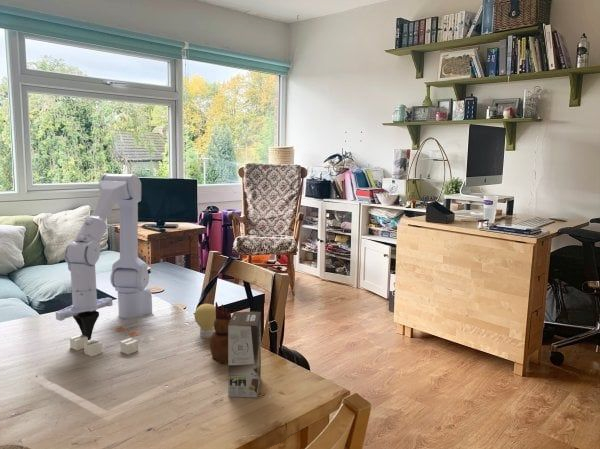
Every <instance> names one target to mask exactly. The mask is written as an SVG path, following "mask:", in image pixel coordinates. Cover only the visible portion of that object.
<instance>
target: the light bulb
mask: <svg viewBox="0 0 600 449" xmlns="http://www.w3.org/2000/svg"><path fill="white" fill-rule="evenodd" d="M215 319H216V305H214V304H211V303H203V304H200V305H199V306H197V308H196V309H195V311H194V321H195V322H196V324H197V325H198V326H199V337H200V338H203V339H210V338H211V335H212V334H213V332H215V329H214V321H215Z"/></svg>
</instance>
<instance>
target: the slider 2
mask: <svg viewBox="0 0 600 449" xmlns="http://www.w3.org/2000/svg"><path fill="white" fill-rule="evenodd" d="M119 343H120V344H119V346H120V352H121V353H123V354H126V355H130V354H133V353H135V352H137V351H139V340H137V339H135V338H133V337H129V338H127V339H123V340H121V341H119Z"/></svg>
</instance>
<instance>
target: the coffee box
mask: <svg viewBox="0 0 600 449" xmlns="http://www.w3.org/2000/svg"><path fill="white" fill-rule="evenodd" d="M261 348H262V312H261V311H234V312H232V314H231V320H230V322H229V324H228V363H227V370H228V372H227V375H228V376H227V380H228V381H227V384H228V385H227V386H228V387H227V395H228V397H236V398H237V397H238V398H255V399H256V398H257V397H258V392H259V387H260V383H261V379H262V373H261V372H262V356H261V355H262V354H261V353H262V351H261V350H262V349H261Z"/></svg>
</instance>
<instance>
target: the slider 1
mask: <svg viewBox="0 0 600 449" xmlns="http://www.w3.org/2000/svg"><path fill="white" fill-rule="evenodd" d="M87 342H89V340H88V337H86V336H85V335H82V333H81V334H78V335H74V336H71V337H69V344H70V346H69V347H70V349H73V350H74V351H80V350H83V349H84V343H87Z"/></svg>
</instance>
